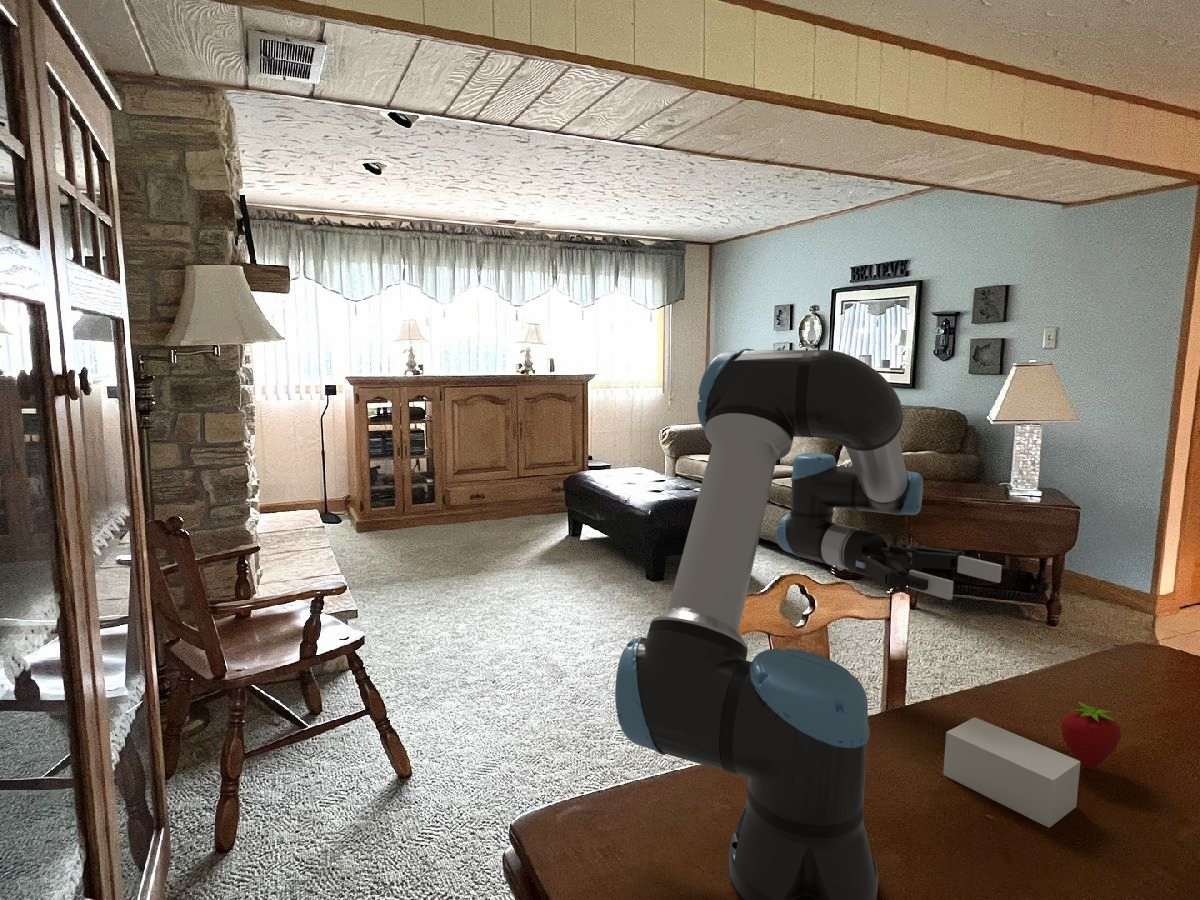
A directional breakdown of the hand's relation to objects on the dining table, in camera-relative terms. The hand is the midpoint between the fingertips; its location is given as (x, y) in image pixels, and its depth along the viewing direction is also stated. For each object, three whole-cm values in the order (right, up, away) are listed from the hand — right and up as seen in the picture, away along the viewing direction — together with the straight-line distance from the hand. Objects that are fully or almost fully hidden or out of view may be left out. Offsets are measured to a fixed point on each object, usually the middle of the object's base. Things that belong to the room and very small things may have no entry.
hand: (976, 582), depth 107 cm
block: (-4, -24, -16) cm, 29 cm away
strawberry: (+9, -23, -11) cm, 27 cm away
